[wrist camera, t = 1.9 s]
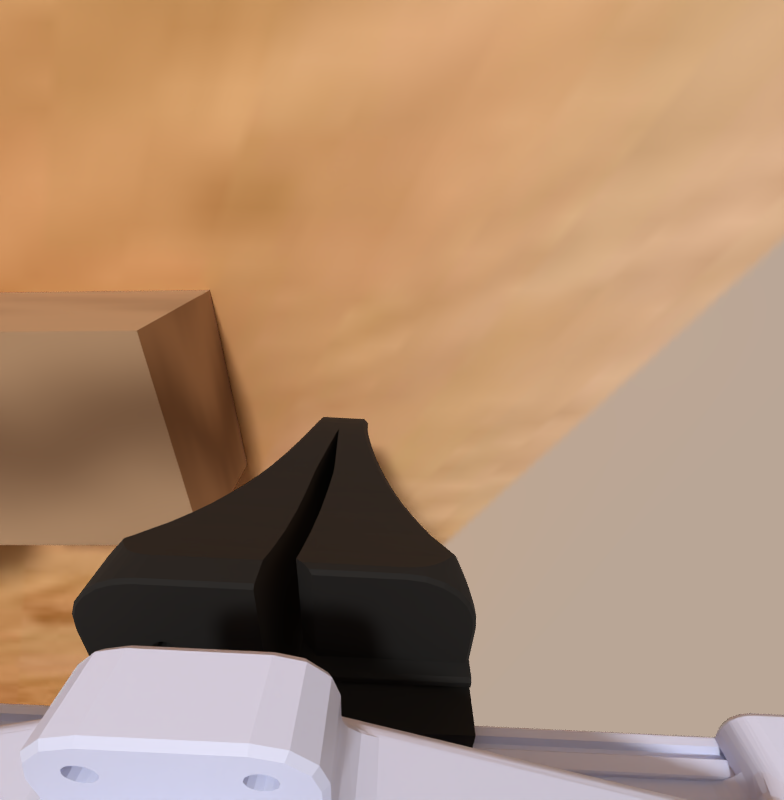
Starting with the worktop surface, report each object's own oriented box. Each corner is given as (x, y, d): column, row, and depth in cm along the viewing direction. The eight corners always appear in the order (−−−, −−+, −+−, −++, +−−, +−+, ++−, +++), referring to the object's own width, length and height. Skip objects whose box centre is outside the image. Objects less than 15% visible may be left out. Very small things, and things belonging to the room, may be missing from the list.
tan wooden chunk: (249, 460, 17) (203, 545, 13) (22, 461, 17) (-92, 544, 13) (212, 288, 14) (136, 330, 10) (-66, 291, 14) (-251, 334, 10)
